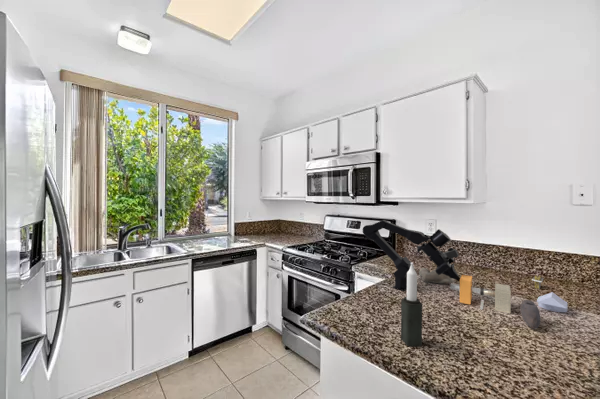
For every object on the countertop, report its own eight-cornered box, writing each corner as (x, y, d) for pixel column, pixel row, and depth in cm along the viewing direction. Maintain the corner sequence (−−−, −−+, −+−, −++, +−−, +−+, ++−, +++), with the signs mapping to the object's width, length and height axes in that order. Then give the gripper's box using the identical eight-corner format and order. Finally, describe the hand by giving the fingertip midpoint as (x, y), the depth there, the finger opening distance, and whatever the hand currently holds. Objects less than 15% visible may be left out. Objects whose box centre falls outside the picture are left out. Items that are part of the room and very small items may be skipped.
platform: (520, 289, 139) (520, 276, 139) (525, 282, 151) (525, 270, 151) (552, 295, 130) (552, 281, 130) (554, 287, 142) (554, 275, 143)
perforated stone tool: (543, 334, 89) (543, 314, 89) (523, 330, 93) (523, 310, 93) (537, 319, 102) (537, 300, 102) (519, 315, 105) (519, 297, 105)
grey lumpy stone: (433, 298, 144) (460, 286, 140) (428, 289, 140) (455, 277, 136) (420, 276, 158) (444, 265, 154) (414, 267, 154) (439, 255, 150)
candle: (399, 338, 86) (400, 260, 86) (414, 337, 86) (415, 260, 86) (407, 346, 81) (408, 264, 81) (423, 346, 81) (424, 264, 81)
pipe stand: (448, 302, 117) (448, 282, 117) (452, 294, 128) (452, 275, 128) (510, 315, 104) (510, 292, 104) (509, 305, 115) (509, 284, 115)
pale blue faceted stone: (567, 317, 104) (567, 308, 113) (567, 300, 104) (567, 292, 113) (536, 310, 110) (539, 302, 119) (536, 294, 110) (539, 287, 119)
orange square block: (459, 302, 116) (459, 279, 116) (461, 296, 124) (462, 274, 124) (470, 304, 114) (470, 281, 114) (472, 298, 122) (472, 276, 122)
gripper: (443, 245, 116) (473, 274, 109) (449, 240, 131) (476, 266, 124) (424, 260, 121) (452, 289, 114) (432, 254, 136) (457, 279, 129)
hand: (460, 280), depth 120 cm, fingers closed, pressing on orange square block
